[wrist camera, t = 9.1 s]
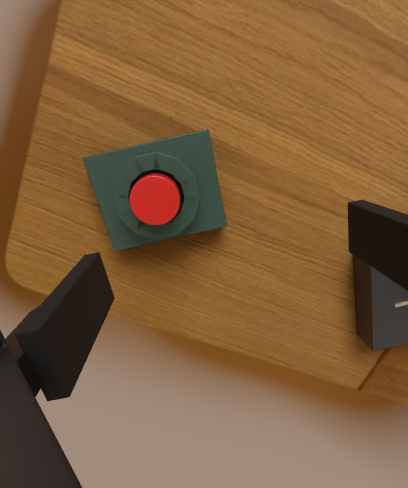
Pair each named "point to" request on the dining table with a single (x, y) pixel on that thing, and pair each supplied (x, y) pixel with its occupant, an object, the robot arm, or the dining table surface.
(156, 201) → the red button
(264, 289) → the dining table surface
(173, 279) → the dining table surface
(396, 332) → the dial panel
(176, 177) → the button block
